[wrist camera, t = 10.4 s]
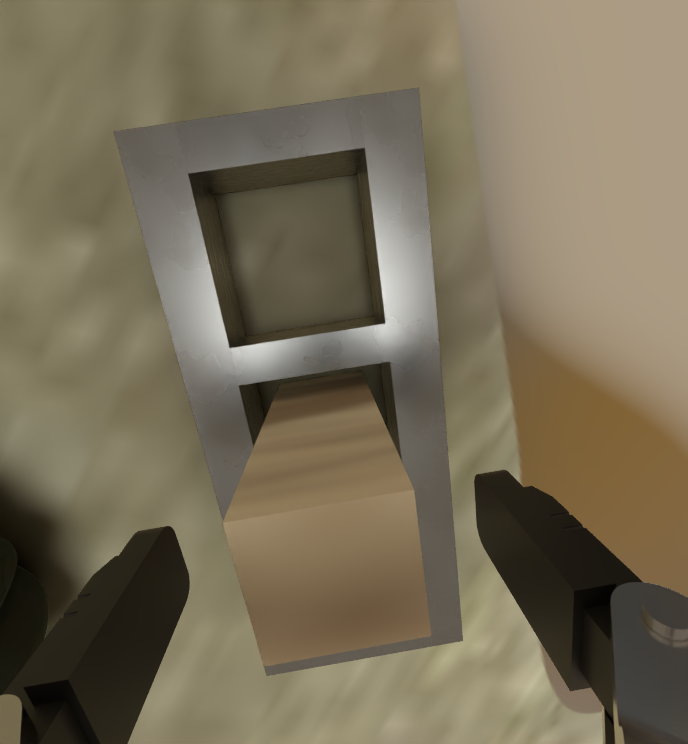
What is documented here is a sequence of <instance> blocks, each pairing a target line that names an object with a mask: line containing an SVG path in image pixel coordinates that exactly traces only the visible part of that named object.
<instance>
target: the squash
mask: <svg viewBox="0 0 688 744" xmlns="http://www.w3.org/2000/svg"><path fill="white" fill-rule="evenodd" d="M17 559H18V557H17V553H16V550H15V549H14V547H13V545H12V543H11V542H10V541H9V540H7V539H3V538H0V695H2V694H3V693H4V691H5V690H6V689H7V688H8V686H9V685H10V684H11V682H12V681H13V680H14V678H15V677H16V676H17V674H18V673H19V672H20V671H21V669H22V668H23V667H24V665H25V664H26V663H27V661H28V660H29V659H30V657H31V656H32V655H33V654H34V652H35V651H36V650H37V648H38V647H39V646H40V644H41V643H42V642H43V640H44V637H45V633H46V628H47V622H48V606H47V599H46V594H45V592H44V589H43V587H42V585H41V583H40V582H39V580H38V579H37V578H36V577H35V576H34V575H32V574H31V573H30V572H28V571H27V570H26V569H24V568H22V567H19V566H17Z"/></svg>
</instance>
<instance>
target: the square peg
mask: <svg viewBox="0 0 688 744" xmlns="http://www.w3.org/2000/svg"><path fill="white" fill-rule="evenodd" d="M223 527H224V530H225V534H226V537H227V541H228V544H229V547H230V551H231V554H232V558H233V561H234V565H235V568H236V572H237V575H238V578H239V582H240V585H241V589H242V592H243V596H244V599H245V603H246V606H247V610H248V613H249V616H250V620H251V623H252V627H253V630H254V634H255V637H256V641H257V644H258V647H259V651H260V654H261V658H262V661H263V665H264V667H265V666H271V665H276V664H281V663H287V662H292V661H298V660H303V659H309V658H314V657H320V656H325V655H331V654H336V653H341V652H347V651H352V650H358V649H363V648H369V647H374V646H380V645H385V644H391V643H396V642H401V641H407V640H412V639H418V638H423V637H429V636H431V628H430V620H429V611H428V603H427V594H426V586H425V577H424V569H423V560H422V552H421V544H420V535H419V527H418V518H417V510H416V501H415V493H414V488H413V486H412V484H411V481H410V479H409V477H408V475H407V472H406V470H405V468H404V466H403V463H402V461H401V459H400V457H399V454H398V452H397V450H396V448H395V445H394V443H393V441H392V439H391V436H390V434H389V432H388V429H387V427H386V425H385V423H384V420H383V418H382V416H381V414H380V411H379V409H378V407H377V405H376V402H375V400H374V398H373V396H372V393H371V391H370V389H369V387H368V384H367V382H366V380H365V378H364V375H363V373H362V371H355V372H349V373H343V374H337V375H331V376H325V377H319V378H313V379H307V380H301V381H295V382H289V383H283V384H279V387H278V389H277V392H276V394H275V396H274V399H273V401H272V404H271V406H270V409H269V411H268V413H267V416H266V418H265V421H264V423H263V426H262V428H261V430H260V433H259V435H258V438H257V440H256V443H255V445H254V447H253V450H252V452H251V455H250V457H249V460H248V462H247V464H246V467H245V469H244V472H243V474H242V477H241V479H240V481H239V484H238V486H237V489H236V491H235V494H234V496H233V499H232V501H231V503H230V506H229V508H228V511H227V513H226V516H225V518H224V520H223Z"/></svg>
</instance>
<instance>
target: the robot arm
mask: <svg viewBox="0 0 688 744" xmlns="http://www.w3.org/2000/svg"><path fill="white" fill-rule="evenodd" d="M474 484H475V502H476V520H477V529H478V533H479V537H480V540H481V542H482V545H483V547H484V549H485V551H486V552H487V554H488V556H489V557H490V559H491V561H492V562H493V564H494V566H495V567H496V569H497V571H498V572H499V574H500V575H501V577H502V579H503V580H504V582H505V584H506V585H507V587H508V589H509V590H510V592H511V594H512V595H513V597H514V599H515V600H516V602H517V604H518V605H519V607H520V609H521V610H522V612H523V614H524V615H525V617H526V619H527V620H528V622H529V624H530V625H531V627H532V628H533V630H534V632H535V633H536V635H537V637H538V638H539V640H540V642H541V643H542V645H543V647H544V648H545V650H546V652H547V653H548V655H549V657H550V658H551V660H552V661H553V663H554V665H555V667H556V668H557V670H558V671H559V673H560V675H561V676H562V678H563V680H564V681H565V683H566V685H567V686H568V688H569V690H570V691H574V690H579V689H585V688H590V687H591V688H592V689H593V691H594V692H595V694H596V696H597V697H598V699H599V700H600V701H601V703H602V705H603V713H602V721H603V744H688V597H686V596H684V595H682V594H680V593H678V592H676V591H673V590H671V589H669V588H666V587H662V586H660V585H655V584H651V583H644V582H642V581H641V580H640V579H639V578H638V577H637V576H636V575H635V574H634V573H633V572H632V571H631V570H630V569H629V568H627V566H625V565H624V564H623V563H622V562H621V561H620V560H619V559H618V558H617V557H616V556H615V555H614V554H613V553H611V552H610V551H609V550H608V549H607V548H606V547H605V546H604V545H603V544H602V543H601V542H600V541H599V540H598V539H597V538H596V537H595V536H594V535H593V534H592V533H590V532H589V531H588V530H587V529H586V528H583V526H582V524H581V523H580V522H579V521H578V520H577V519H576V518H575V517H574V516H572V515H569V512H568V511H567V510H566V509H565V508H564V507H563V506H562V505H561V504H560V503H558V501H557V500H556V499H554V498H553V497H552V496H550V495H548V494H546V493H544V492H542V491H540V490H539V489H537V488H535V487H533V486H529V487H523V486H522V485H521V484H520V483H519V482H518V481H517V480H516V479H515V478H514V477H513V476H512V475H511V474H510V473H509V472H508V471H506V470H500V471H495V472H489V473H483V474H477V475H476V476H475V480H474ZM189 585H190V582H189V573H188V570H187V567H186V564H185V561H184V558H183V555H182V552H181V549H180V546H179V543H178V540H177V537H176V534H175V531H174V530H173V528H172V527H170V526H166V527H160V528H154V529H148V530H142V531H138V532H136V533H135V534H134V535H133V537H132V538H131V539H130V541H129V542H128V543H127V545H126V546H125V548H124V549H123V550H122V552H121V553H120V555H119V556H115V557H114V558H113V559H111V560H110V561H109V562H108V563H107V564H106V565H105V566H103V567H102V568H101V569H100V570H99V571H98V572H96V573H95V574H94V575H93V576H92V578H91V579H90V580H89V582H88V583H87V584H86V585H85V587H84V588H83V589H82V591H81V592H80V593H79V595H78V599H77V600H74V601H73V603H72V604H71V605H70V606H69V608H68V609H67V610H66V612H65V613H64V617H63V618H60V620H59V621H58V622H57V623H56V625H55V626H54V627H53V629H52V630H51V631H50V633H49V634H48V635H47V637H46V638H45V639H44V640H43V642H42V643H41V644H40V646H39V647H38V648H37V650H36V651H35V652H34V654H33V655H32V656H31V657H30V659H29V660H28V661H27V663H26V664H25V665H24V667H23V668H22V669H21V671H20V672H19V673H18V674H17V676H16V677H15V678H14V680H13V681H12V682H11V684H10V685H9V686H8V688H7V689H6V690H5V691H4V693H3V694H2V695H0V744H127V743H128V741H129V739H130V736H131V734H132V731H133V729H134V727H135V724H136V722H137V719H138V717H139V714H140V712H141V710H142V707H143V705H144V702H145V700H146V698H147V695H148V693H149V690H150V688H151V686H152V683H153V681H154V678H155V676H156V673H157V671H158V669H159V666H160V664H161V661H162V659H163V657H164V654H165V652H166V649H167V647H168V645H169V642H170V640H171V637H172V635H173V633H174V630H175V628H176V625H177V623H178V620H179V618H180V616H181V613H182V611H183V608H184V606H185V604H186V601H187V598H188V594H189Z"/></svg>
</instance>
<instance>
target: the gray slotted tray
mask: <svg viewBox="0 0 688 744" xmlns="http://www.w3.org/2000/svg"><path fill="white" fill-rule="evenodd" d="M114 135H115V138H116V142H117V145H118V149H119V152H120V156H121V160H122V163H123V167H124V170H125V174H126V177H127V181H128V184H129V188H130V192H131V195H132V199H133V202H134V206H135V209H136V213H137V217H138V220H139V224H140V227H141V231H142V234H143V238H144V241H145V245H146V249H147V252H148V256H149V259H150V263H151V266H152V270H153V273H154V277H155V281H156V284H157V288H158V291H159V295H160V298H161V302H162V305H163V309H164V313H165V316H166V320H167V323H168V327H169V330H170V334H171V337H172V341H173V345H174V348H175V352H176V355H177V359H178V362H179V366H180V369H181V373H182V377H183V380H184V384H185V387H186V391H187V394H188V398H189V401H190V405H191V409H192V412H193V416H194V419H195V423H196V426H197V430H198V433H199V437H200V441H201V444H202V448H203V451H204V455H205V458H206V462H207V466H208V469H209V473H210V476H211V480H212V483H213V487H214V490H215V494H216V498H217V501H218V505H219V508H220V512H221V515H222V519H223V520H224V518H225V516H226V513H227V511H228V508H229V506H230V503H231V501H232V499H233V496H234V494H235V491H236V489H237V486H238V484H239V481H240V479H241V477H242V474H243V472H244V469H245V467H246V464H247V462H248V460H249V457H250V455H251V452H252V450H253V447H254V445H255V443H256V440H257V438H258V435H259V433H260V430H261V428H262V426H263V423H264V421H265V418H264V413H263V409H262V404H261V400H260V396H259V391H258V387H257V383H259V382H265V381H271V380H277V379H283V378H290V377H296V376H302V375H308V374H314V373H321V372H327V371H333V370H339V369H346V368H352V367H358V366H364V365H370V364H377V363H380V365H381V373H382V381H383V389H384V397H385V405H386V413H387V421H388V429H389V434H390V436H391V439H392V441H393V443H394V445H395V448H396V450H397V452H398V454H399V457H400V459H401V461H402V463H403V466H404V468H405V470H406V472H407V475H408V477H409V479H410V481H411V484H412V486H413V488H414V493H415V501H416V510H417V518H418V527H419V535H420V544H421V552H422V560H423V569H424V577H425V586H426V594H427V603H428V611H429V620H430V628H431V636H429V637H423V638H418V639H412V640H407V641H401V642H396V643H391V644H385V645H380V646H374V647H369V648H363V649H358V650H352V651H347V652H341V653H336V654H331V655H325V656H320V657H314V658H309V659H303V660H298V661H292V662H287V663H281V664H276V665H271V666H265V667H264V668H265V672H266V675H267V676H269V675H275V674H280V673H286V672H292V671H297V670H303V669H308V668H314V667H319V666H325V665H331V664H336V663H342V662H347V661H353V660H359V659H364V658H370V657H375V656H381V655H386V654H392V653H398V652H403V651H409V650H414V649H420V648H425V647H431V646H437V645H442V644H448V643H453V642H459V641H463V636H462V623H461V610H460V598H459V585H458V573H457V560H456V548H455V535H454V522H453V510H452V497H451V485H450V472H449V460H448V447H447V435H446V422H445V409H444V397H443V384H442V372H441V359H440V347H439V334H438V321H437V309H436V296H435V284H434V271H433V259H432V246H431V234H430V221H429V208H428V196H427V183H426V171H425V158H424V146H423V133H422V120H421V108H420V95H419V88H412V89H405V90H398V91H391V92H384V93H377V94H371V95H364V96H357V97H350V98H343V99H336V100H329V101H322V102H315V103H308V104H301V105H294V106H287V107H280V108H273V109H266V110H259V111H252V112H245V113H238V114H231V115H224V116H218V117H211V118H204V119H197V120H190V121H183V122H176V123H169V124H162V125H155V126H148V127H141V128H134V129H127V130H120V131H114ZM353 174H356V175H357V183H358V191H359V199H360V207H361V215H362V223H363V231H364V239H365V247H366V255H367V262H368V270H369V278H370V286H371V294H372V302H373V310H374V316H371V317H365V318H358V319H352V320H346V321H339V322H333V323H327V324H320V325H314V326H308V327H301V328H295V329H289V330H282V331H276V332H270V333H263V334H257V335H251V336H246V333H245V329H244V324H243V320H242V315H241V311H240V306H239V302H238V298H237V293H236V289H235V284H234V280H233V275H232V271H231V266H230V262H229V258H228V253H227V249H226V244H225V240H224V235H223V231H222V226H221V222H220V217H219V213H218V209H217V204H216V200H215V195H218V194H225V193H232V192H239V191H245V190H252V189H259V188H265V187H272V186H279V185H286V184H292V183H299V182H306V181H313V180H319V179H326V178H333V177H339V176H346V175H353Z"/></svg>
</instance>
